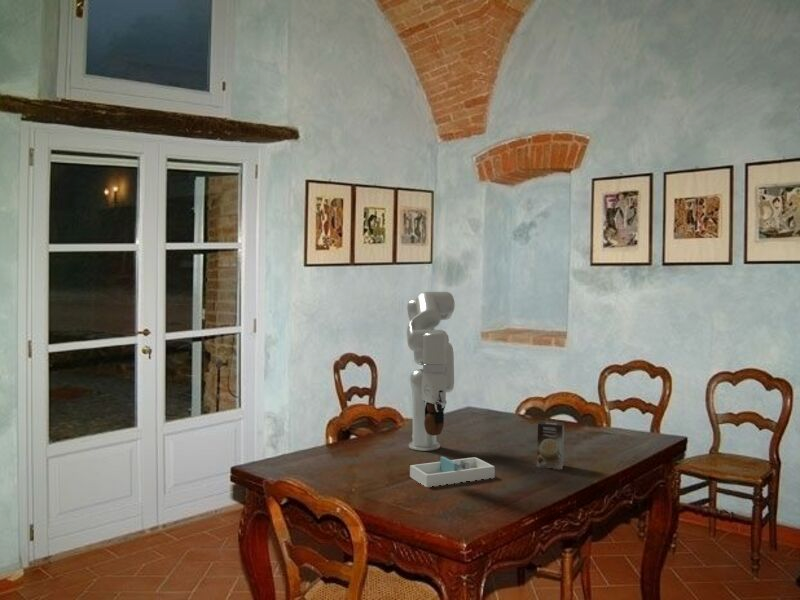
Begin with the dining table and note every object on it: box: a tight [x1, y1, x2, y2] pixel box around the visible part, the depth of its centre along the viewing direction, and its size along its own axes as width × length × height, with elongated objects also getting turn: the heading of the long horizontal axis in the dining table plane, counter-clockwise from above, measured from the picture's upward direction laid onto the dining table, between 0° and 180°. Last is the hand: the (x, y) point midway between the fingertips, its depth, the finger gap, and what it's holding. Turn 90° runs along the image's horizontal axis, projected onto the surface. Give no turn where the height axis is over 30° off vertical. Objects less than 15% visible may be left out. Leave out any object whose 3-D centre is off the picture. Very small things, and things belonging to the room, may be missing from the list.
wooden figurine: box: [424, 403, 445, 436], centre depth 238 cm, size 7×6×15 cm
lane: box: [409, 456, 496, 488], centre depth 242 cm, size 13×26×4 cm, turn 114°
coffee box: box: [536, 419, 565, 470], centre depth 255 cm, size 9×6×16 cm
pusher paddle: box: [439, 455, 469, 472], centre depth 242 cm, size 10×7×5 cm
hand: (434, 420), depth 238 cm, fingers closed on wooden figurine, 6 cm apart
